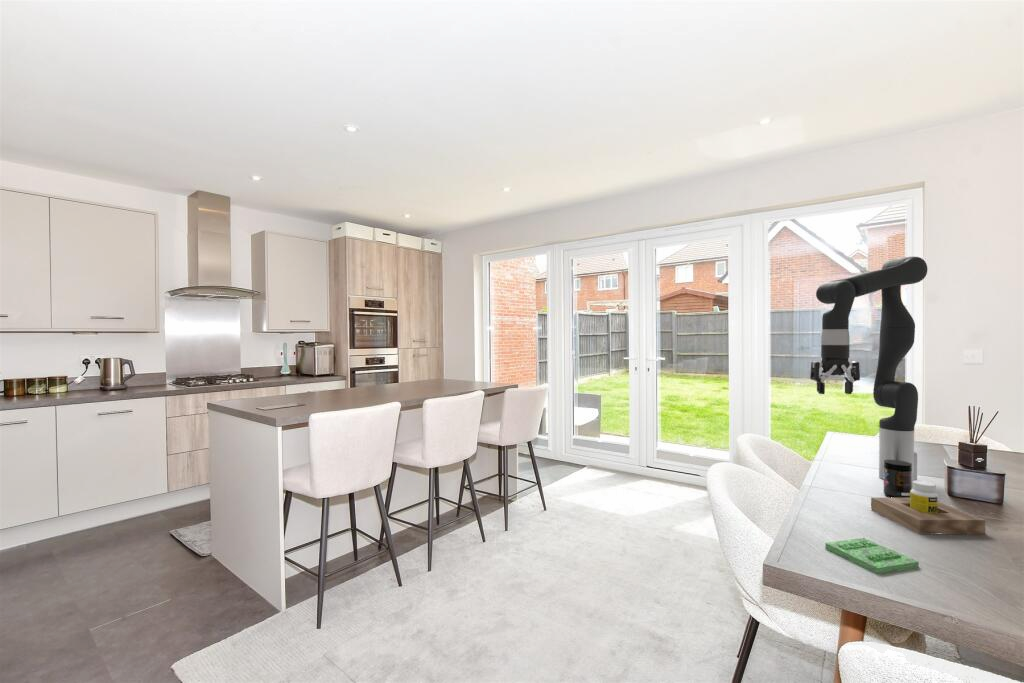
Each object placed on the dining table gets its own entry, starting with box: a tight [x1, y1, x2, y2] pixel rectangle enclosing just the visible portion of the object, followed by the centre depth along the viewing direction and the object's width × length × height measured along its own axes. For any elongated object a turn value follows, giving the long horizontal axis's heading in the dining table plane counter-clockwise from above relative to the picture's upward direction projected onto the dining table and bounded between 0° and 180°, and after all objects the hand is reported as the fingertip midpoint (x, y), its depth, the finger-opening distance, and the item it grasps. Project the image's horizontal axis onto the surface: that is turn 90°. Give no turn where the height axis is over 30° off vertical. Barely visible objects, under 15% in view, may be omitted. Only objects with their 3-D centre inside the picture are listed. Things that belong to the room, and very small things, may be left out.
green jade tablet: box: [825, 537, 920, 575], centre depth 104 cm, size 11×12×2 cm
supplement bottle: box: [910, 479, 939, 513], centre depth 124 cm, size 6×6×10 cm
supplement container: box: [883, 460, 913, 498], centre depth 143 cm, size 7×7×10 cm
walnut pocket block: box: [870, 497, 986, 535], centre depth 124 cm, size 16×16×4 cm
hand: (834, 393), depth 152 cm, fingers open, 8 cm apart
